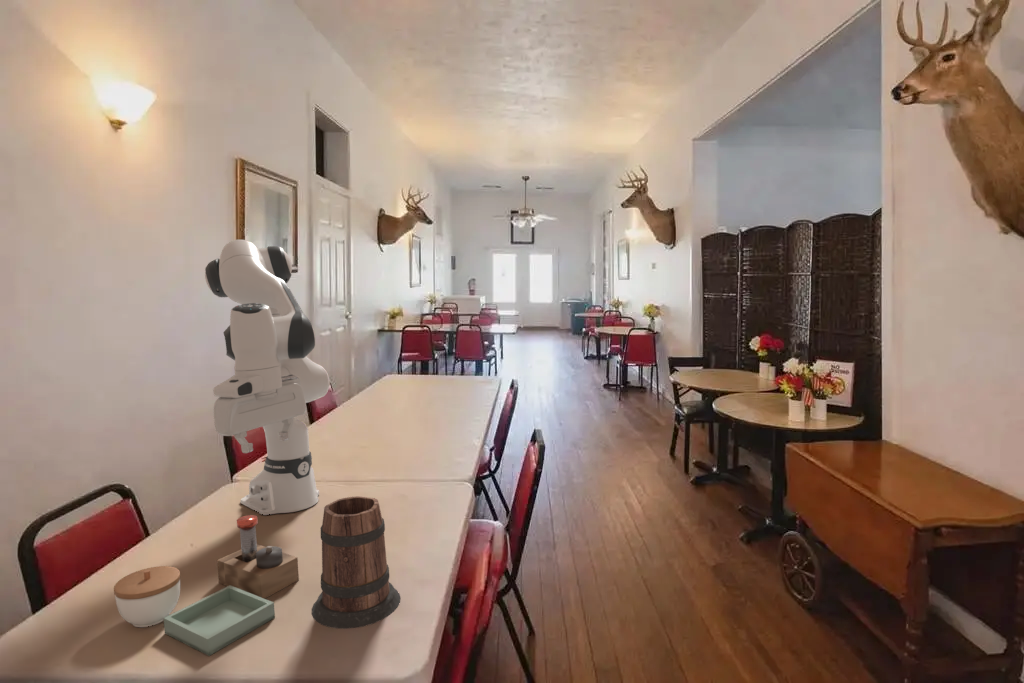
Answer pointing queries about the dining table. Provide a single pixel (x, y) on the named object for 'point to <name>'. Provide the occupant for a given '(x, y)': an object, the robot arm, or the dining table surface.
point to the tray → (219, 619)
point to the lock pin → (248, 537)
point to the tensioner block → (259, 571)
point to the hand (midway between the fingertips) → (267, 445)
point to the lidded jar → (148, 595)
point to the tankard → (354, 566)
